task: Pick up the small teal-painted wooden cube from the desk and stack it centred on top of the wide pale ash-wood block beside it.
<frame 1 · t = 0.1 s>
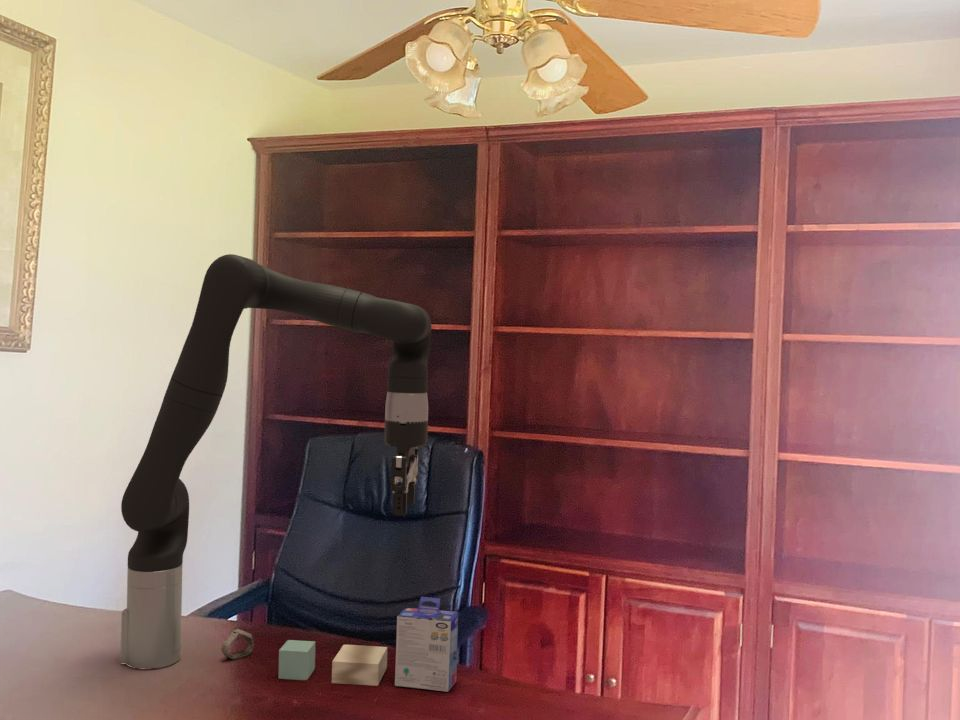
hand: (403, 510, 144), 29 cm above the table, tool pointing down, fingers open, 8 cm apart
wristwatch: (237, 657, 151), on the table
ink cartridge box: (426, 684, 141), on the table
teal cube: (296, 674, 144), on the table
ash block: (359, 676, 144), on the table
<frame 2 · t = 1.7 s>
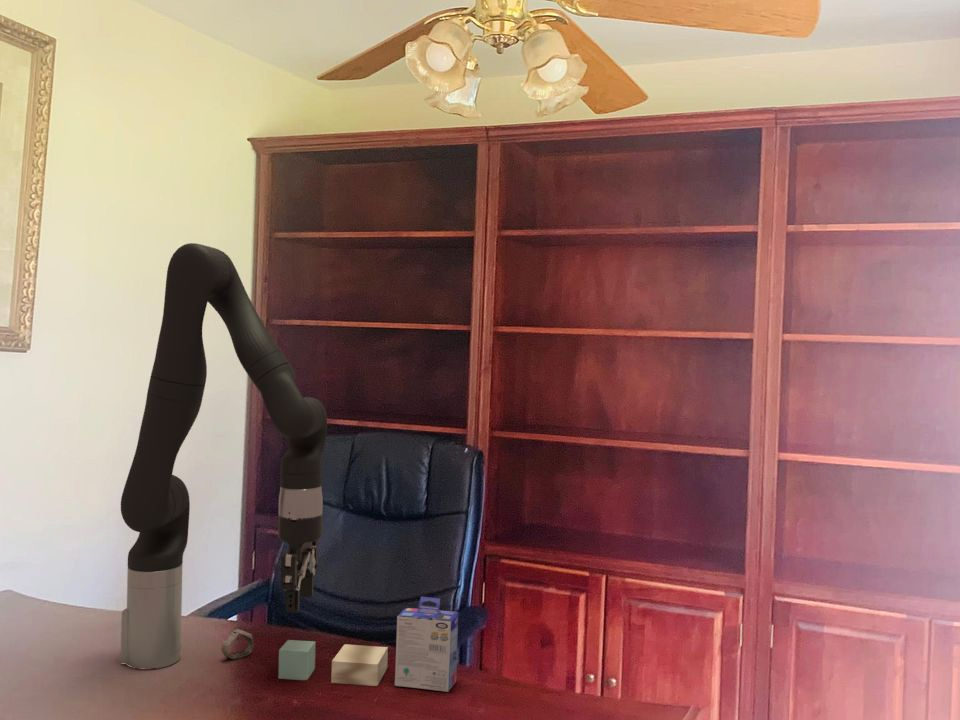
hand: (299, 604, 144), 12 cm above the table, tool pointing down, fingers open, 8 cm apart
nothing on the table moved.
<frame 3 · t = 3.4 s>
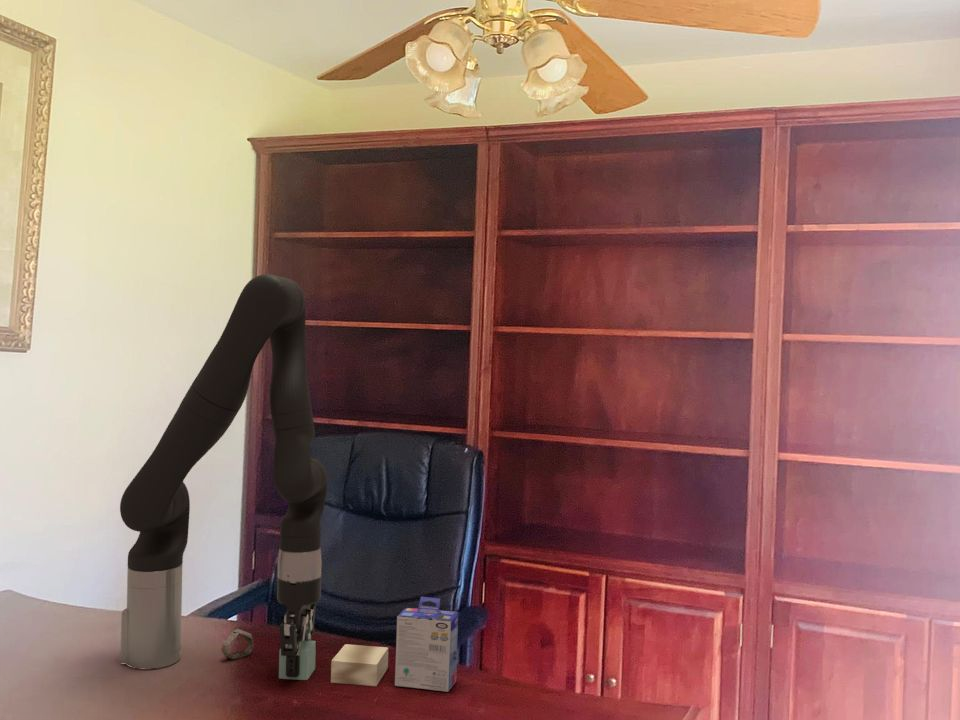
hand: (297, 669, 144), 1 cm above the table, tool pointing down, fingers closed on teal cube, 5 cm apart
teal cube: (297, 673, 144), on the table, touching gripper
everything else where it was.
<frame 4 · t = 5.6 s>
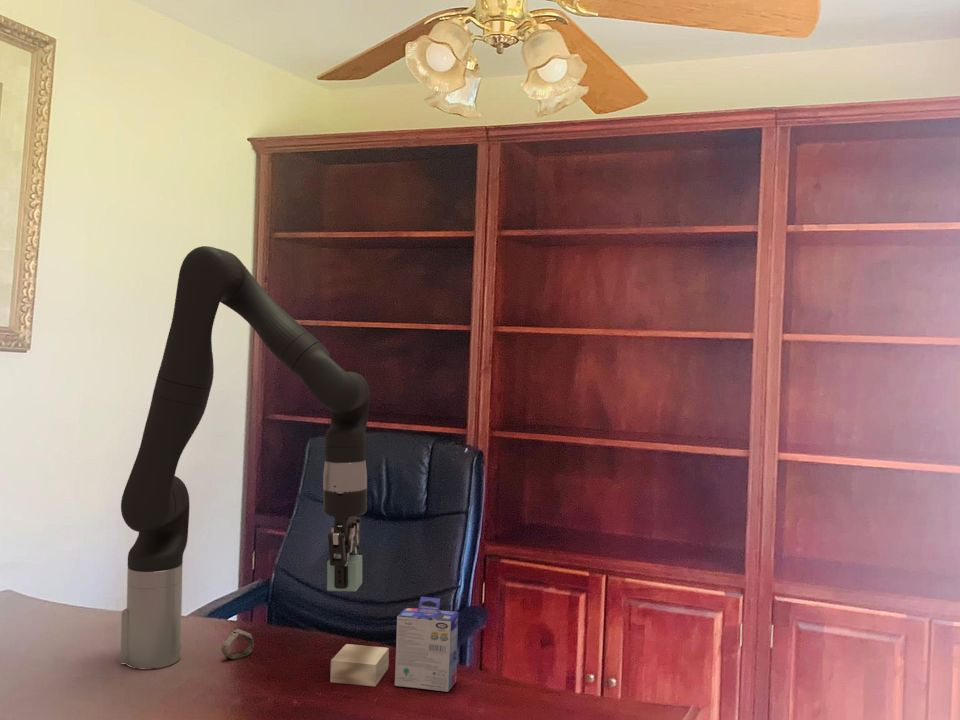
hand: (345, 582, 144), 16 cm above the table, tool pointing down, fingers closed on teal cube, 5 cm apart
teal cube: (345, 586, 144), point 16 cm above the table, touching gripper
everything else where it was.
when the fingers open (6 cm above the table, at t = 8.2 s): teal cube drops 1 cm, point 4 cm above the table.
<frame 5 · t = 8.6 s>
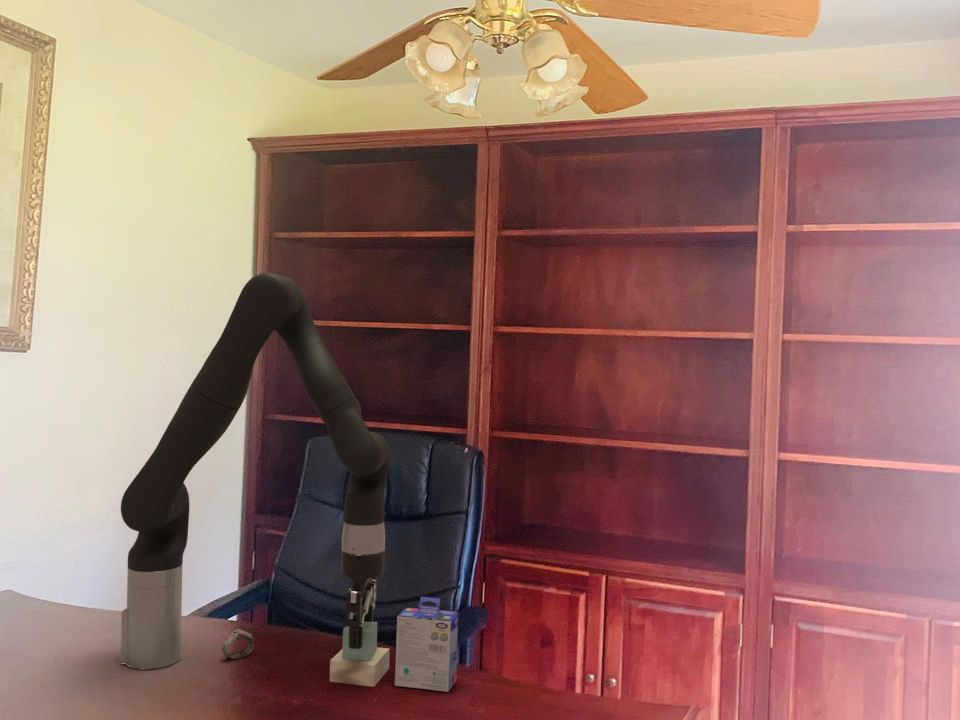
hand: (360, 639, 144), 6 cm above the table, tool pointing down, fingers open, 8 cm apart
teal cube: (359, 654, 144), point 4 cm above the table
everything else where it was.
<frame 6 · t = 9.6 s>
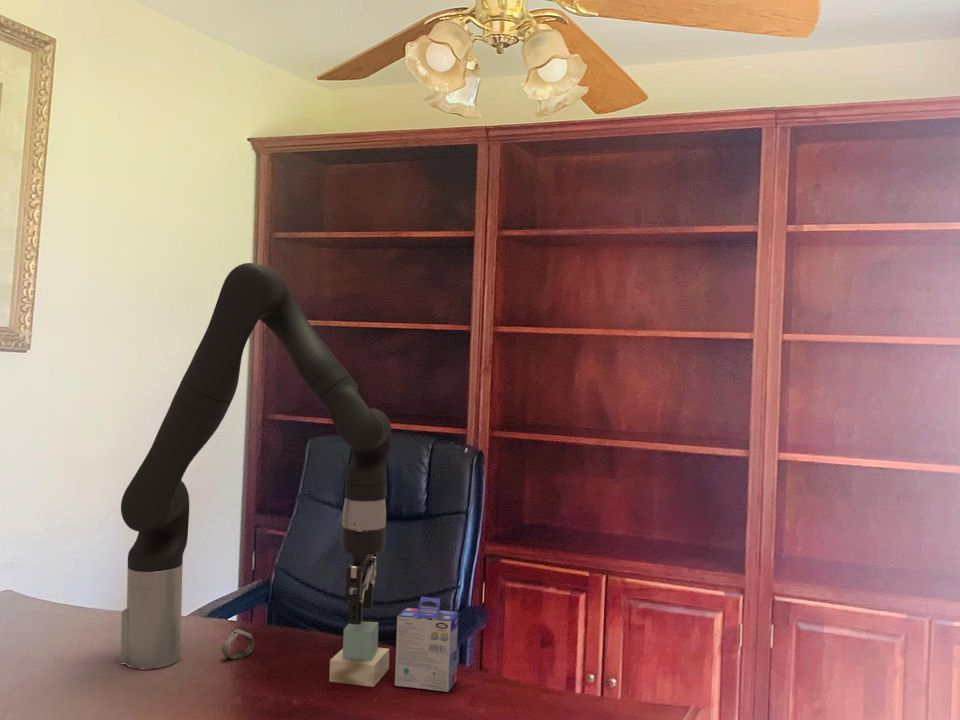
hand: (360, 615, 144), 10 cm above the table, tool pointing down, fingers open, 8 cm apart
nothing on the table moved.
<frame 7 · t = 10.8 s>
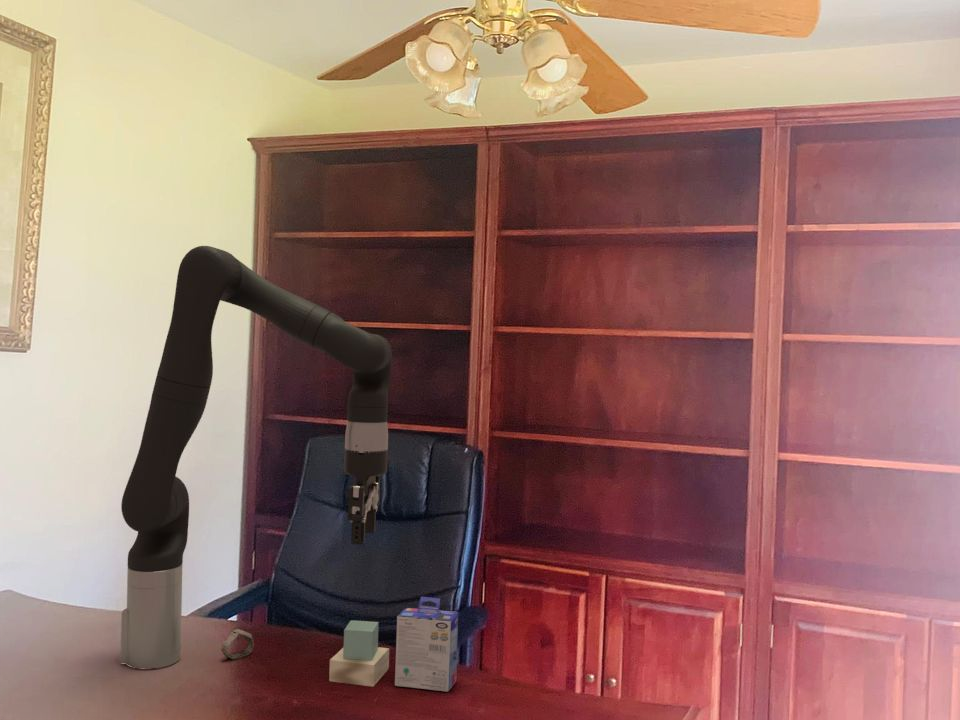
hand: (363, 538, 145), 24 cm above the table, tool pointing down, fingers open, 8 cm apart
nothing on the table moved.
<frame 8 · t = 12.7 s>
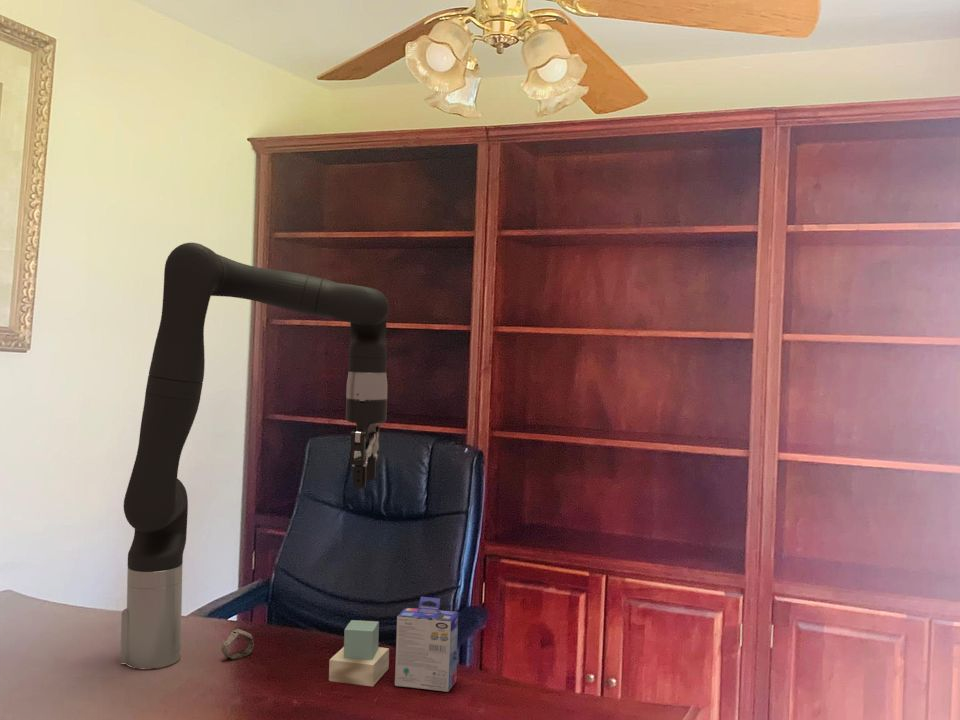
hand: (364, 483, 153), 32 cm above the table, tool pointing down, fingers open, 8 cm apart
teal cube: (361, 653, 144), point 4 cm above the table, touching ash block
ash block: (359, 676, 144), on the table, touching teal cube
everything else where it was.
at the end: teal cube 0.2 cm off-centre on the ash block, point 4.0 cm above the ash block's base; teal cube tilted 0°; the gripper is holding nothing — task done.
